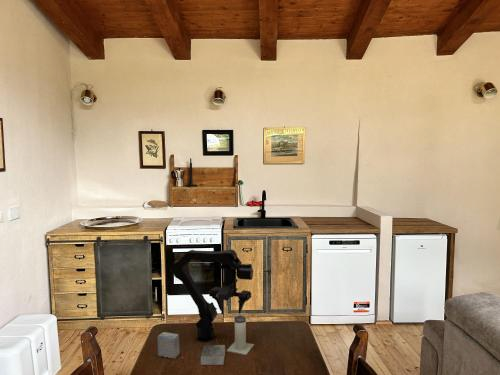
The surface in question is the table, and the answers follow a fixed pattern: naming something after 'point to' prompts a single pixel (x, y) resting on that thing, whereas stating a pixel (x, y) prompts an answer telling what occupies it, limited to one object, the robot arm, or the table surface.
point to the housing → (213, 355)
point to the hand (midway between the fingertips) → (230, 312)
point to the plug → (240, 332)
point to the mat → (244, 351)
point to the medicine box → (168, 345)
